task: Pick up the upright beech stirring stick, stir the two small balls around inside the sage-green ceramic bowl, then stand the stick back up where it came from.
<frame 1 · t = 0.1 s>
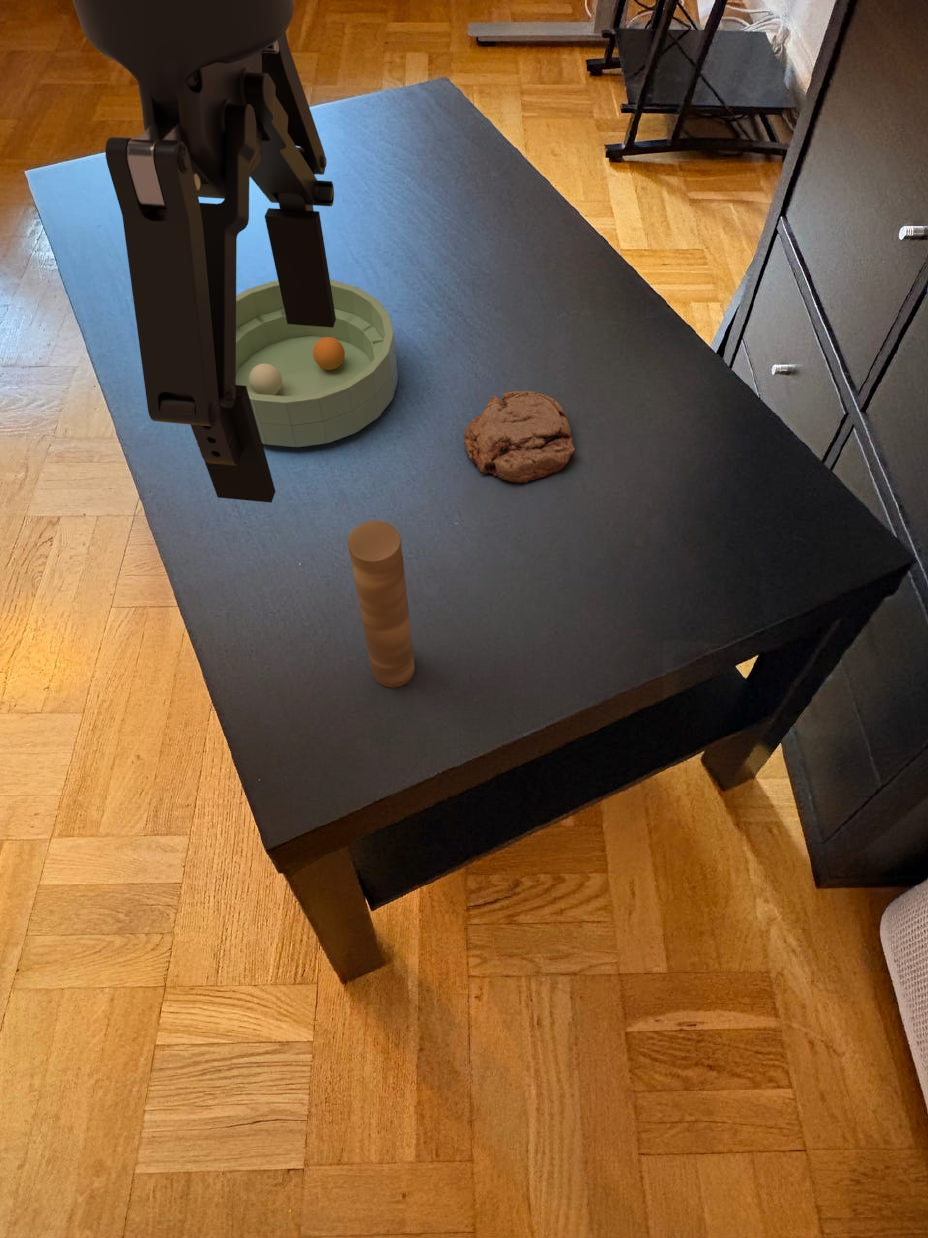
hand: (282, 401, 45), 24 cm above the table, tool pointing down, fingers open, 13 cm apart
cookie: (518, 445, 77), on the table
stick: (393, 669, 63), on the table
cream ball: (265, 380, 78), point 2 cm above the table, touching bowl
orange ball: (328, 353, 80), point 2 cm above the table, touching bowl
bowl: (306, 388, 81), on the table
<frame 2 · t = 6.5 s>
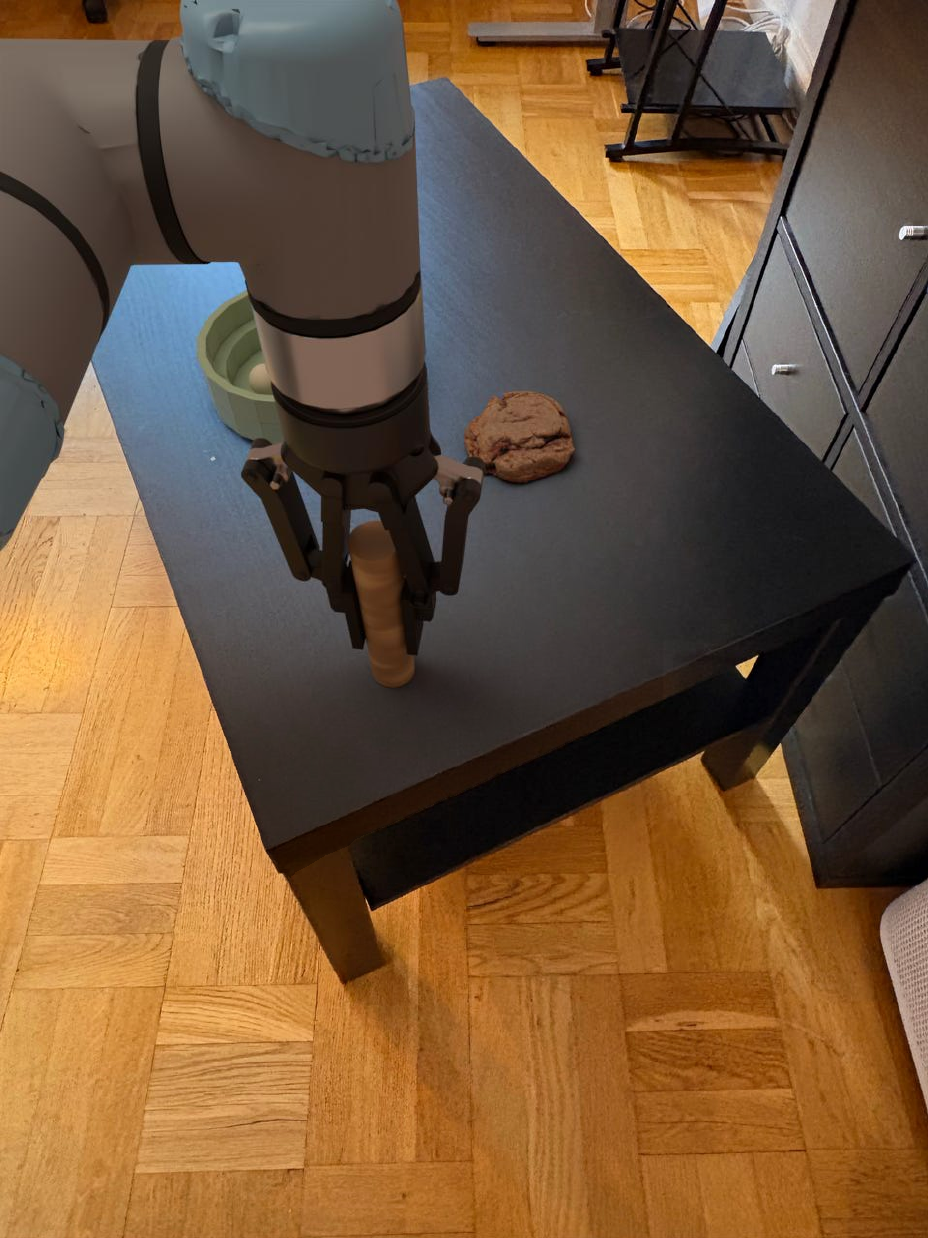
hand: (388, 635, 59), 5 cm above the table, tool pointing down, fingers closed on stick, 3 cm apart
stick: (393, 669, 63), on the table, touching gripper
everything else where it was.
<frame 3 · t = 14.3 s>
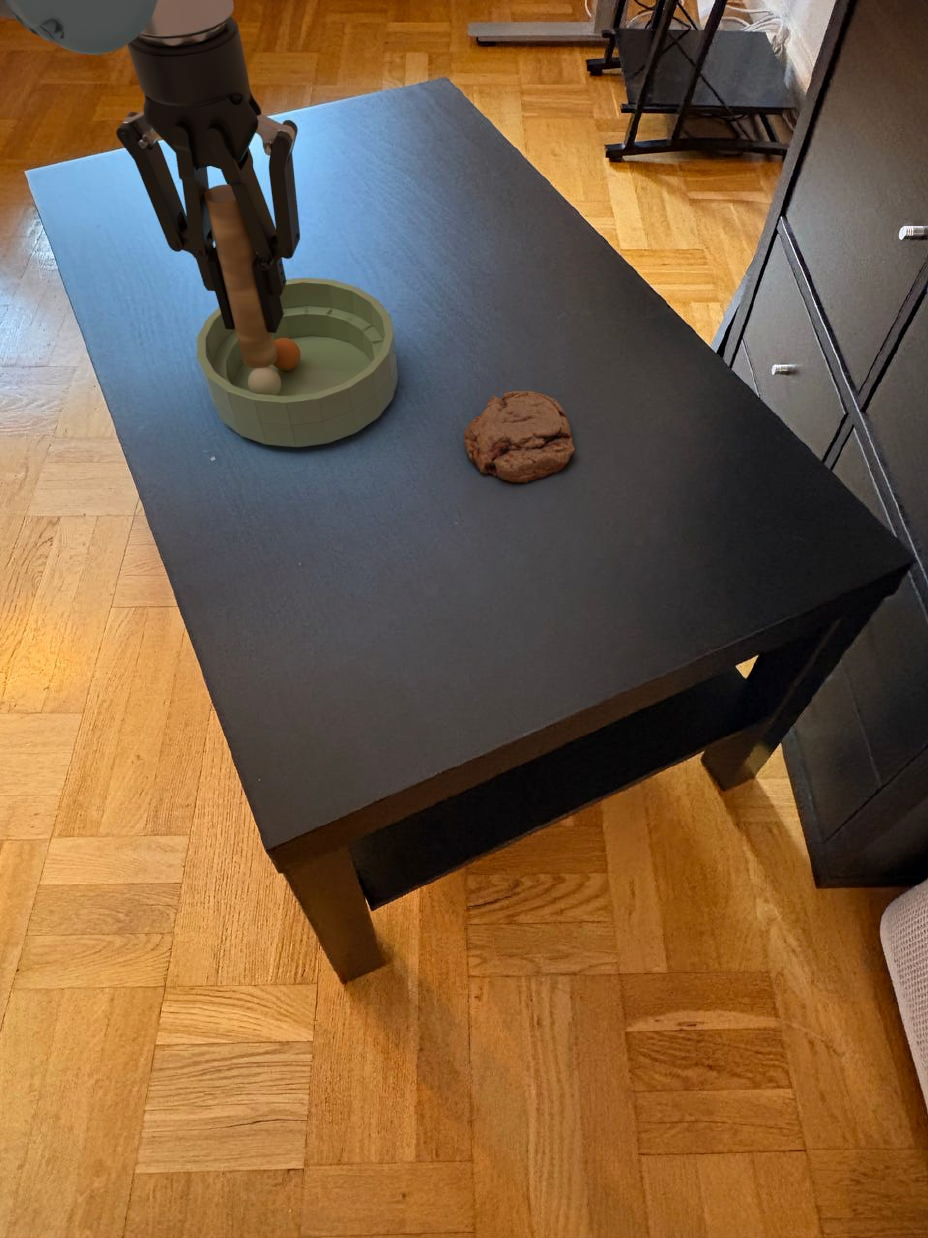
hand: (254, 321, 76), 7 cm above the table, tool pointing down, fingers closed on stick, 3 cm apart
stick: (260, 358, 78), point 4 cm above the table, touching cream ball, gripper
cream ball: (264, 383, 78), point 2 cm above the table, tilted 15°, touching bowl, stick
orange ball: (284, 354, 80), point 2 cm above the table, tilted 91°, touching bowl
everything else where it was.
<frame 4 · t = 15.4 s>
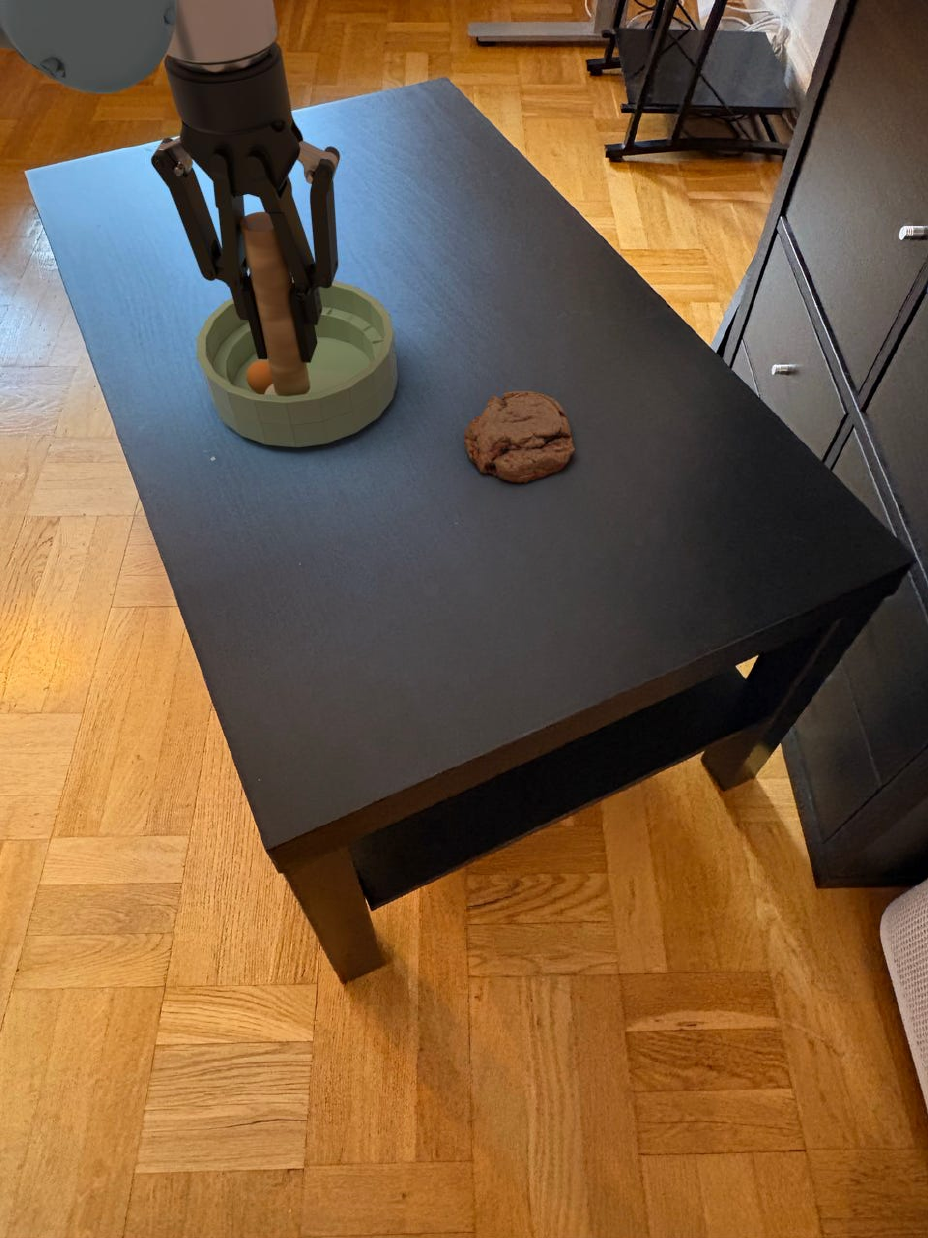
hand: (288, 350, 73), 7 cm above the table, tool pointing down, fingers closed on stick, 3 cm apart
stick: (292, 387, 75), point 4 cm above the table, touching gripper
cream ball: (280, 399, 77), point 2 cm above the table, tilted 104°, touching bowl
orange ball: (262, 377, 79), point 2 cm above the table, tilted 60°, touching bowl
everything else where it was.
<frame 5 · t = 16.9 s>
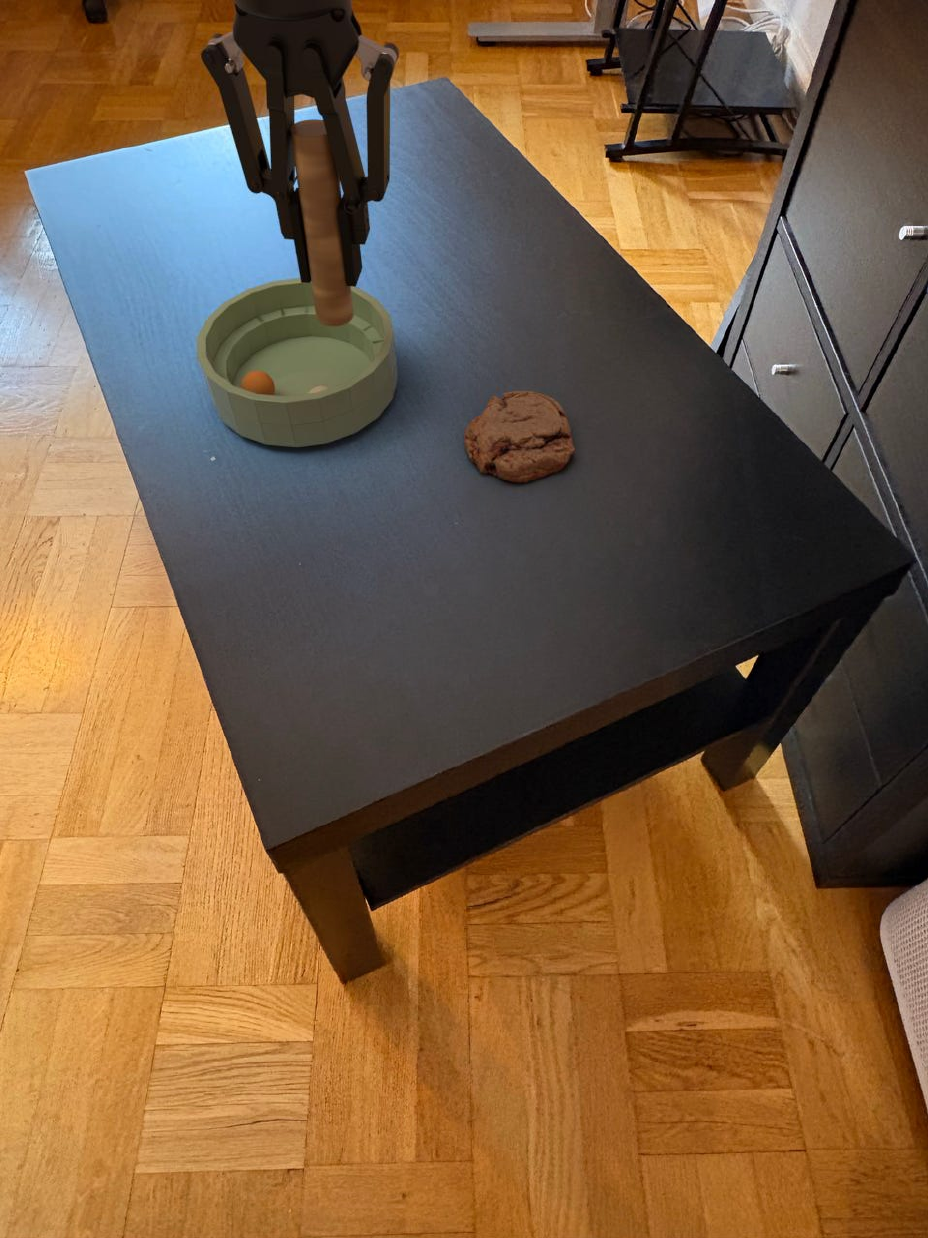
hand: (332, 274, 70), 13 cm above the table, tool pointing down, fingers closed on stick, 3 cm apart
stick: (335, 316, 73), point 9 cm above the table, touching gripper
cream ball: (322, 402, 77), point 2 cm above the table, tilted 82°, touching bowl
orange ball: (258, 387, 78), point 2 cm above the table, tilted 88°, touching bowl
everything else where it was.
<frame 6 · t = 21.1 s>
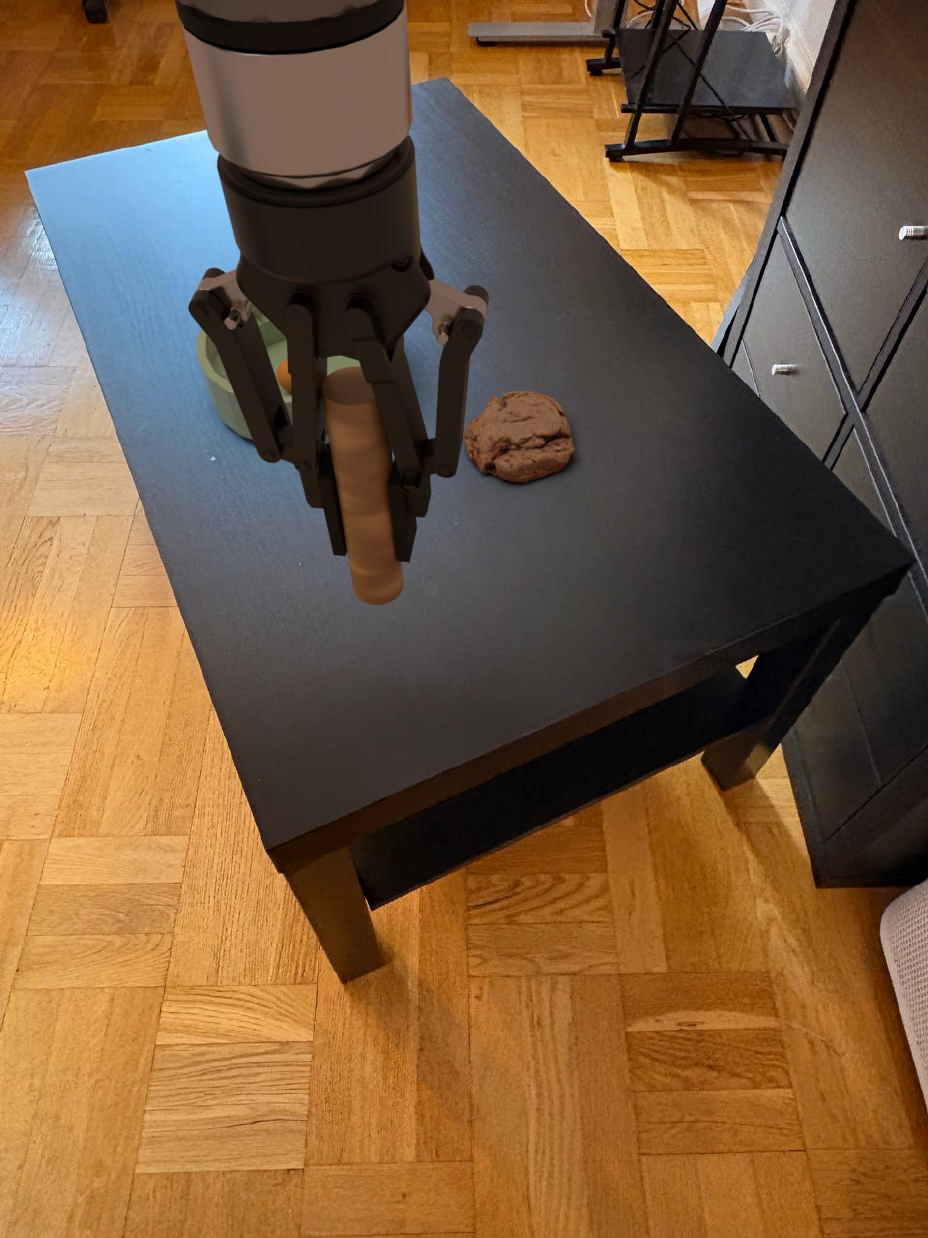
hand: (375, 540, 51), 15 cm above the table, tool pointing down, fingers closed on stick, 3 cm apart
stick: (378, 585, 53), point 12 cm above the table, touching gripper
cream ball: (320, 400, 77), point 2 cm above the table, tilted 75°, touching bowl
orange ball: (293, 375, 79), point 2 cm above the table, tilted 45°, touching bowl
everything else where it was.
when the fingers open (3 cm above the table, at t = 24.0 s): stick stays where it is, on the table.
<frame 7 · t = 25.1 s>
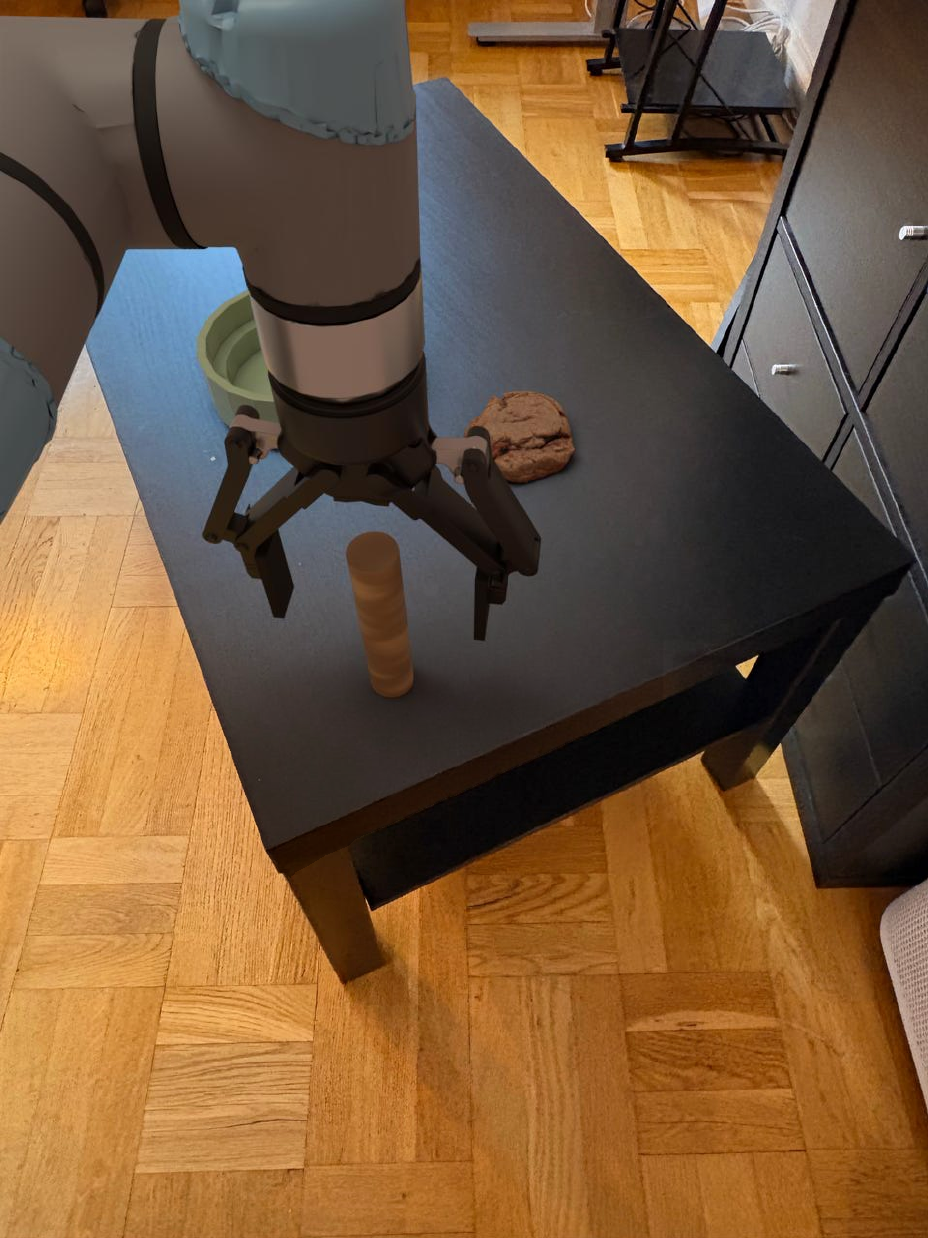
hand: (382, 613, 57), 7 cm above the table, tool pointing down, fingers open, 13 cm apart
stick: (392, 679, 63), on the table
cream ball: (319, 399, 77), point 2 cm above the table, tilted 68°, touching bowl
orange ball: (325, 364, 80), point 2 cm above the table, tilted 166°, touching bowl
everything else where it was.
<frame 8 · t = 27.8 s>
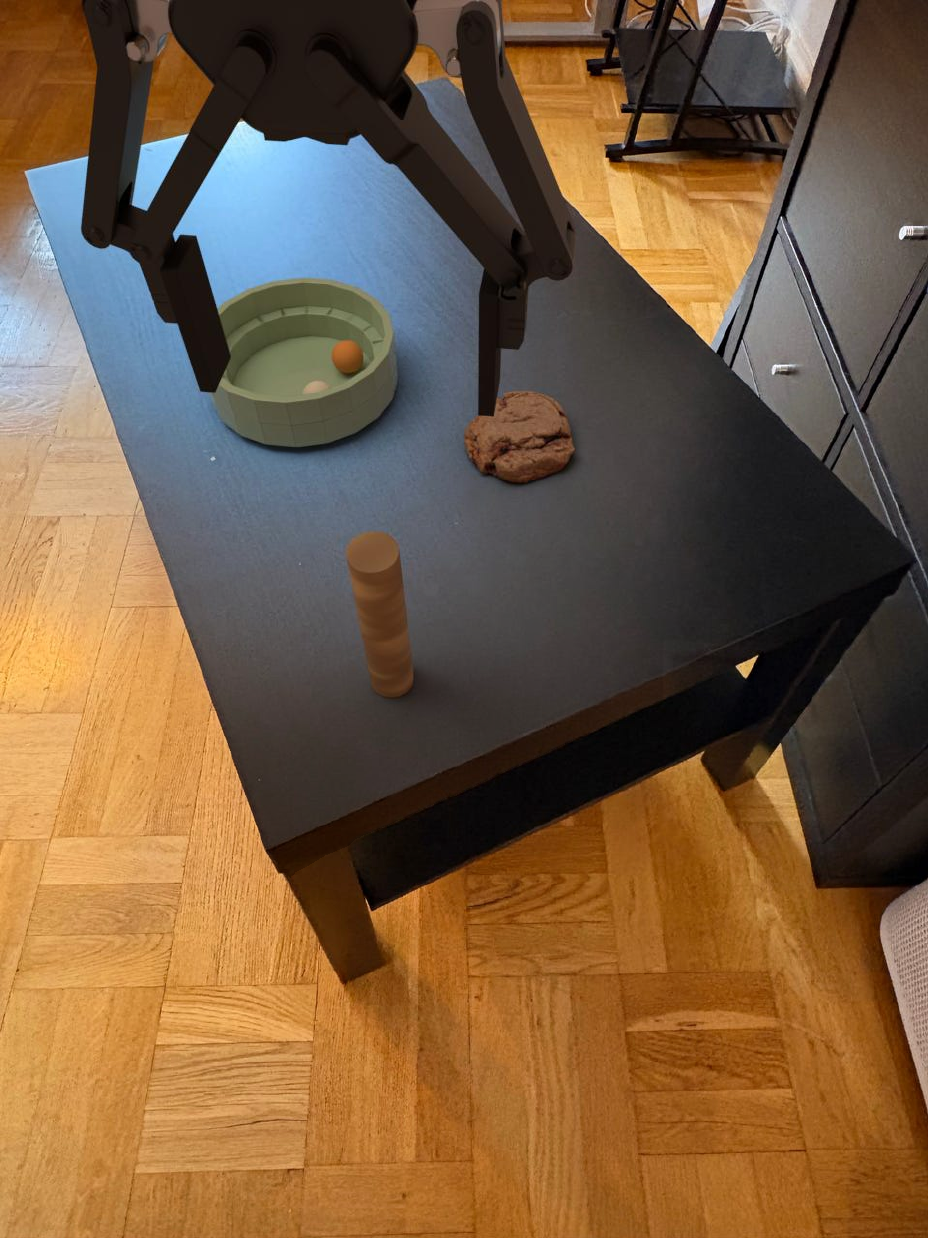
hand: (350, 386, 41), 27 cm above the table, tool pointing down, fingers open, 13 cm apart
orange ball: (347, 356, 80), point 2 cm above the table, tilted 104°, touching bowl
everything else where it was.
at the end: orange ball moved 2.0 cm from its start; orange ball inside the target area in the bowl (4.6 cm from its centre), point 2.3 cm above the bowl's base; stick tilted 0° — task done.
